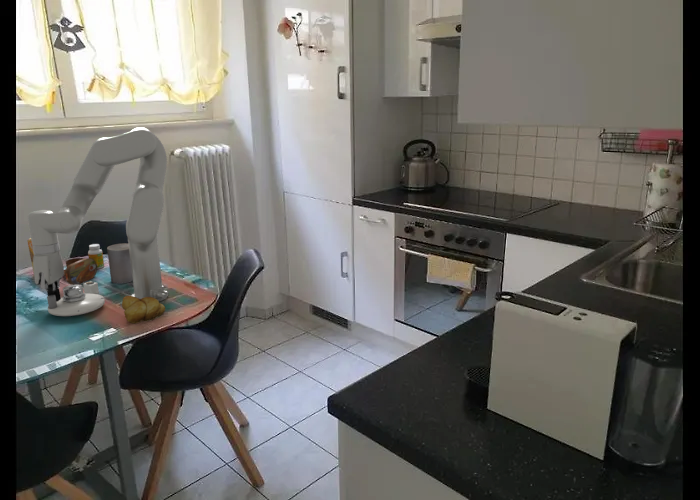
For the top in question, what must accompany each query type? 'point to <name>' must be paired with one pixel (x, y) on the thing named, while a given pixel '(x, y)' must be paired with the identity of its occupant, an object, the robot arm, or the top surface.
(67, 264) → the cup and saucer
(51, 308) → the white disc with knobs
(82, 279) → the tin
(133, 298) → the bread roll
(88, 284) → the dial gauge
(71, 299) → the door knob
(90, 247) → the supplement bottle
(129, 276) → the pillar candle
